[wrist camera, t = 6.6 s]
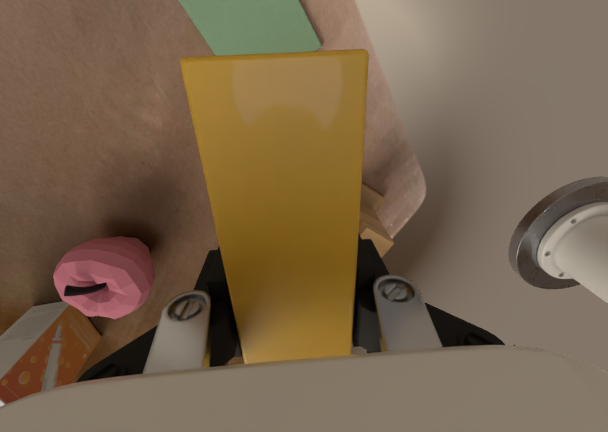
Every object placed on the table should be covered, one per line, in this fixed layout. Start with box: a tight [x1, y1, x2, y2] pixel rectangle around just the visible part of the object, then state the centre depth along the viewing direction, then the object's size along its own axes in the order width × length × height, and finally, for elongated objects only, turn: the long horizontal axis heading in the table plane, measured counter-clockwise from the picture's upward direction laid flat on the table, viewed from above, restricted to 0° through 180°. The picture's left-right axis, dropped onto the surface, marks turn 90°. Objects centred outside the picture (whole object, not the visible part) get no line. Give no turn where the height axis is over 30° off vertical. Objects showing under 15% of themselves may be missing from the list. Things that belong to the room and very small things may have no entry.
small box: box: [0, 301, 102, 407], centre depth 36 cm, size 8×6×13 cm
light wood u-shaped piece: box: [359, 182, 394, 258], centre depth 33 cm, size 17×5×9 cm, turn 147°
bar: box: [180, 49, 369, 364], centre depth 10 cm, size 14×3×3 cm, turn 2°
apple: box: [53, 236, 155, 319], centre depth 32 cm, size 10×9×10 cm
